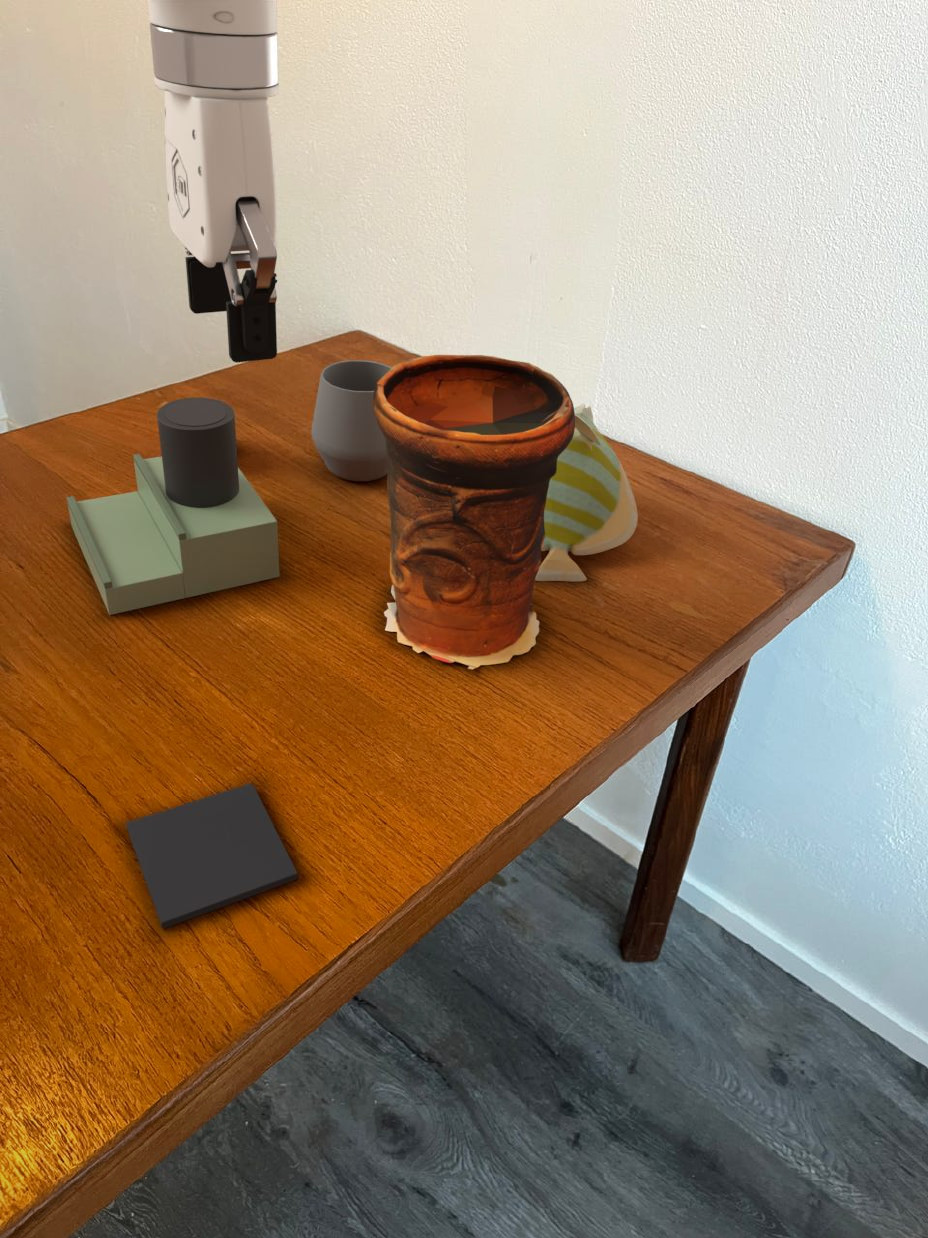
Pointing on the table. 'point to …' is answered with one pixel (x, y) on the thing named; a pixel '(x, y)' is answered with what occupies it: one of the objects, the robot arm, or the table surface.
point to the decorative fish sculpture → (585, 502)
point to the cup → (350, 421)
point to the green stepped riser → (172, 542)
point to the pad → (209, 854)
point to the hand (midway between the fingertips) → (231, 333)
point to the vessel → (468, 499)
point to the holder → (199, 451)
